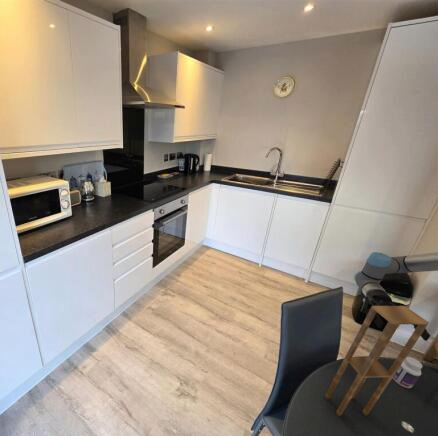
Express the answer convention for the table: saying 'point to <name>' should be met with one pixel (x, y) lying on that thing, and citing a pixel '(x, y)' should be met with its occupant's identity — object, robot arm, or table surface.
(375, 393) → the stand frame
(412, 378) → the pill bottle
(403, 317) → the shelf
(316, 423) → the table surface
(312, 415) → the table surface
